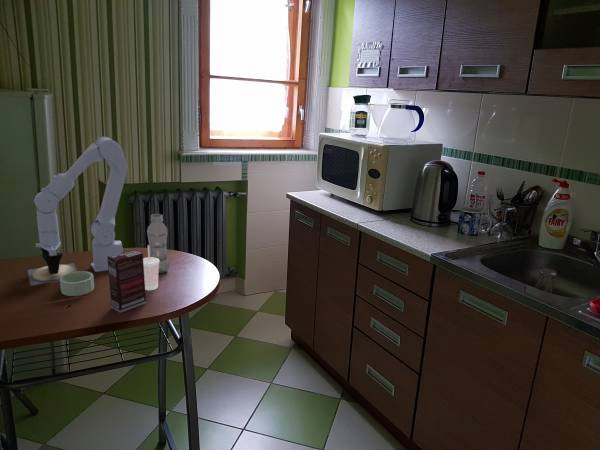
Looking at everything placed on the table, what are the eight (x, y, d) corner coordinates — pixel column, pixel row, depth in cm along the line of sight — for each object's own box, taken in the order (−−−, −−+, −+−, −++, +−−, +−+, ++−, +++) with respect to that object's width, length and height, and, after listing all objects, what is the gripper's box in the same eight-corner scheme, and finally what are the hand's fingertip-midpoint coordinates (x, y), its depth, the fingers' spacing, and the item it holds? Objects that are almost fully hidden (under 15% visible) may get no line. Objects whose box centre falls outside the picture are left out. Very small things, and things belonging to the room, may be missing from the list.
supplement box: (137, 298, 140) (134, 248, 136) (146, 303, 137) (144, 253, 133) (110, 308, 134) (106, 255, 129) (119, 313, 131) (115, 260, 126)
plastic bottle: (166, 276, 157) (164, 218, 151) (146, 274, 157) (143, 217, 151) (171, 268, 163) (169, 213, 157) (152, 267, 163) (149, 212, 158)
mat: (73, 264, 163) (73, 263, 163) (80, 278, 152) (80, 277, 152) (27, 271, 155) (27, 269, 155) (30, 286, 144) (30, 285, 144)
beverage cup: (160, 282, 152) (158, 241, 148) (160, 290, 146) (159, 248, 142) (140, 284, 150) (138, 242, 146) (140, 292, 145) (137, 249, 140)
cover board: (71, 264, 161) (69, 252, 160) (76, 277, 152) (75, 264, 150) (31, 270, 155) (29, 258, 154) (34, 283, 145) (32, 270, 144)
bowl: (91, 282, 149) (90, 269, 148) (96, 293, 142) (95, 279, 141) (59, 287, 145) (58, 274, 143) (63, 299, 137) (61, 285, 136)
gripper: (32, 225, 153) (37, 263, 157) (36, 238, 141) (41, 279, 145) (56, 222, 156) (60, 260, 160) (62, 235, 145) (66, 275, 149)
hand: (53, 269), depth 153 cm, fingers open, 7 cm apart
